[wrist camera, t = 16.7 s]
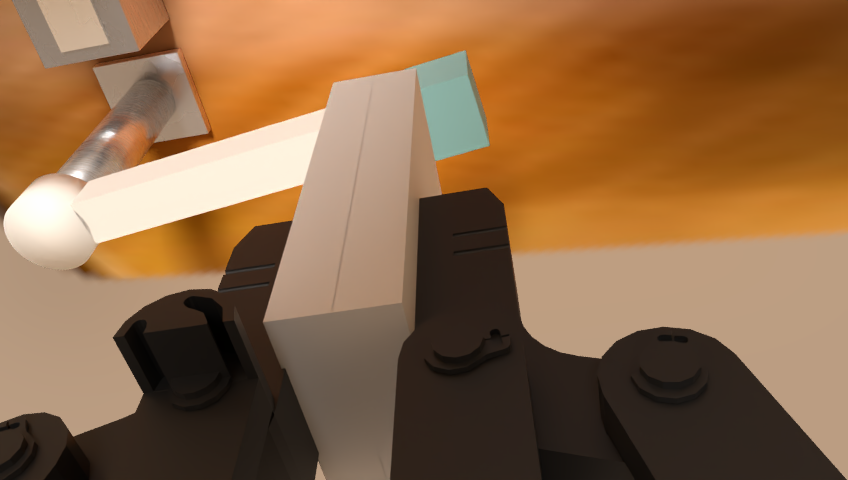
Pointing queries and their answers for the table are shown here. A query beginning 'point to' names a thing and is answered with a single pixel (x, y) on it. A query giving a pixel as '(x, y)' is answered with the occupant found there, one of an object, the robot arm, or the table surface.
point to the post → (139, 113)
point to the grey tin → (89, 27)
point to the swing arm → (216, 174)
